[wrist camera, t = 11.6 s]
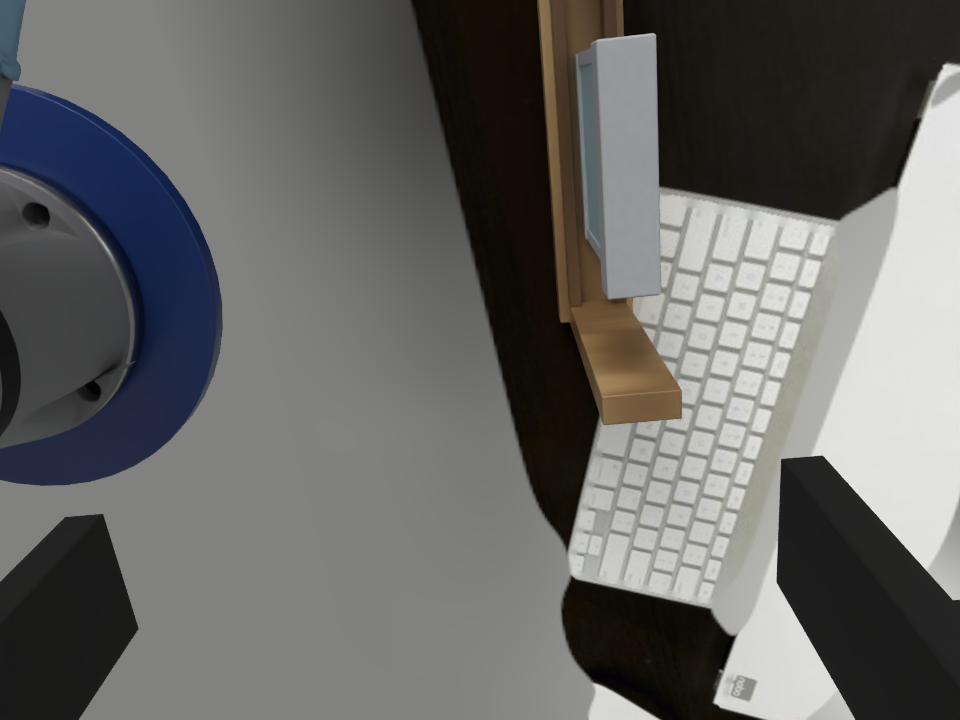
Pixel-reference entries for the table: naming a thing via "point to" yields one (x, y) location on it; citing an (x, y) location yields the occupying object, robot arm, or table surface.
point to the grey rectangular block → (620, 161)
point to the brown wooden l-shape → (581, 300)
